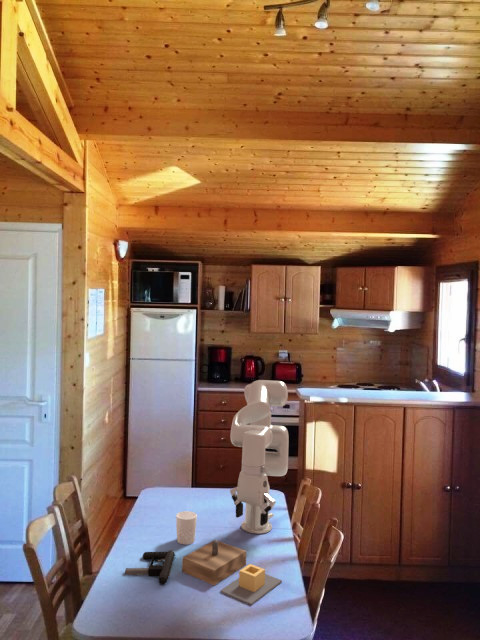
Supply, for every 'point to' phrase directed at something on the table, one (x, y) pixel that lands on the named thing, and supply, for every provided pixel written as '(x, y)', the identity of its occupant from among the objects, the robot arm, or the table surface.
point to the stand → (214, 562)
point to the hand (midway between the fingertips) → (251, 520)
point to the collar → (252, 577)
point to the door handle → (155, 566)
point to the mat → (247, 595)
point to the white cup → (186, 527)
